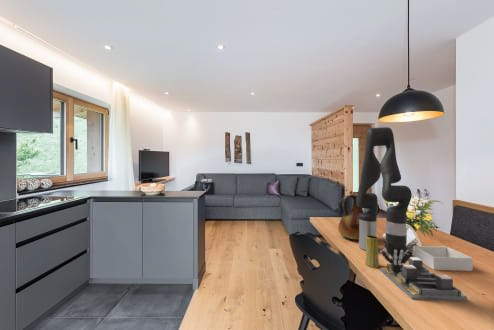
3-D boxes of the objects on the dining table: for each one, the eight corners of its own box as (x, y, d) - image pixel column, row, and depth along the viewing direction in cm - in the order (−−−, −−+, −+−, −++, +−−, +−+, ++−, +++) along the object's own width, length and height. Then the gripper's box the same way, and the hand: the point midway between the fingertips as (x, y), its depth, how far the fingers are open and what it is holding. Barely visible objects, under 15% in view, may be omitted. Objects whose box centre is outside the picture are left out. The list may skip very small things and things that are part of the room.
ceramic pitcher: (377, 243, 143) (377, 196, 143) (345, 242, 143) (345, 196, 143) (362, 233, 163) (362, 192, 162) (334, 233, 163) (334, 192, 163)
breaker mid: (402, 278, 97) (402, 264, 97) (411, 278, 97) (412, 264, 96) (406, 281, 94) (407, 267, 94) (416, 282, 94) (416, 268, 94)
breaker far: (408, 269, 104) (408, 257, 104) (417, 269, 104) (417, 257, 104) (413, 272, 101) (413, 259, 101) (422, 273, 101) (422, 260, 101)
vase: (366, 261, 117) (366, 234, 117) (380, 264, 113) (380, 236, 113) (363, 265, 112) (364, 237, 112) (377, 269, 108) (378, 239, 108)
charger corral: (412, 256, 122) (412, 245, 122) (446, 257, 121) (447, 246, 121) (433, 269, 108) (433, 257, 108) (472, 270, 107) (472, 258, 106)
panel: (380, 270, 107) (380, 263, 107) (424, 272, 105) (424, 264, 105) (411, 298, 85) (411, 289, 85) (467, 300, 83) (467, 291, 83)
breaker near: (435, 289, 88) (435, 274, 88) (446, 289, 88) (446, 274, 88) (441, 293, 85) (441, 278, 85) (452, 293, 85) (452, 278, 85)
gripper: (406, 229, 99) (406, 268, 99) (375, 229, 99) (375, 268, 100) (418, 235, 91) (417, 277, 91) (384, 234, 92) (384, 276, 92)
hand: (395, 272), depth 95 cm, fingers closed
